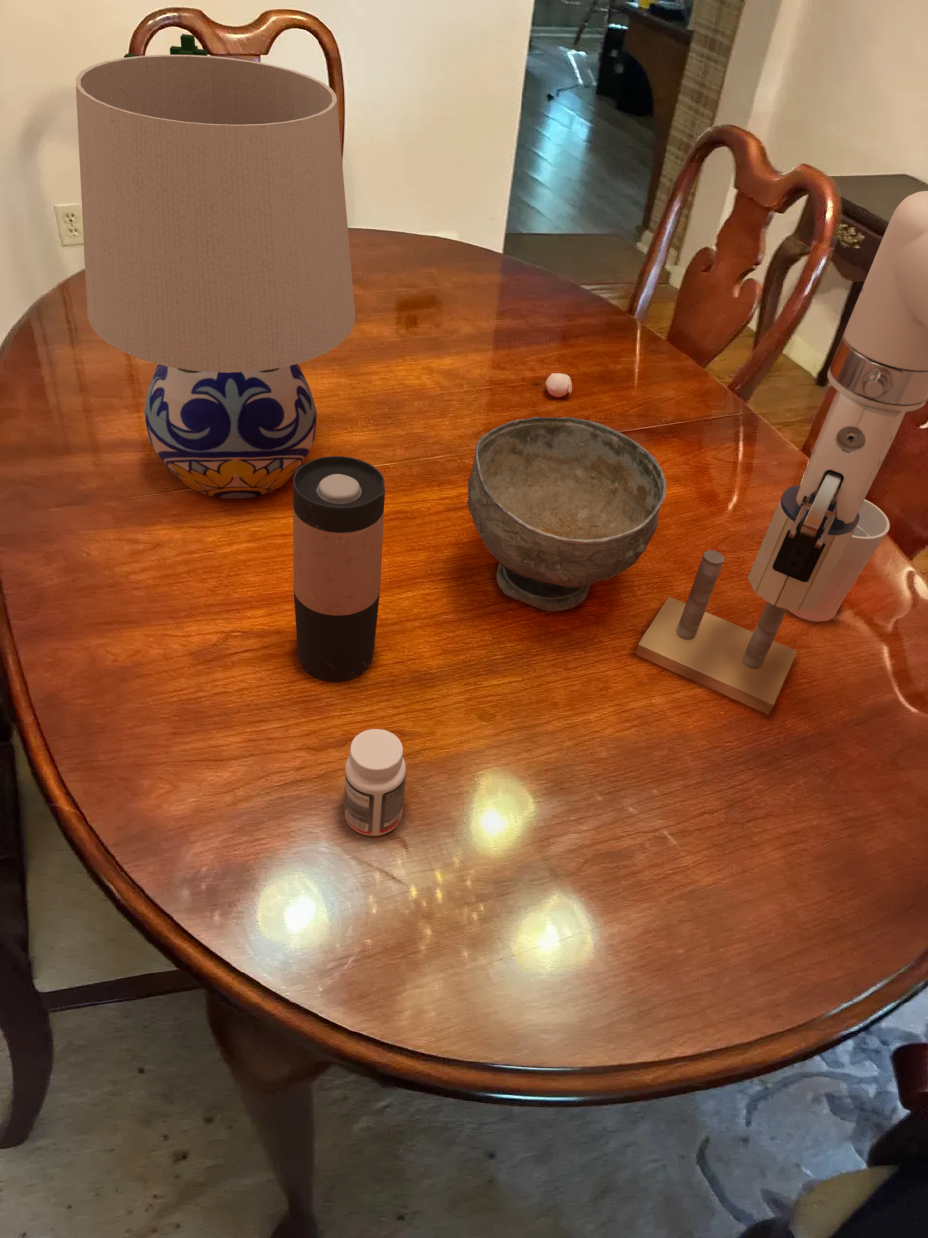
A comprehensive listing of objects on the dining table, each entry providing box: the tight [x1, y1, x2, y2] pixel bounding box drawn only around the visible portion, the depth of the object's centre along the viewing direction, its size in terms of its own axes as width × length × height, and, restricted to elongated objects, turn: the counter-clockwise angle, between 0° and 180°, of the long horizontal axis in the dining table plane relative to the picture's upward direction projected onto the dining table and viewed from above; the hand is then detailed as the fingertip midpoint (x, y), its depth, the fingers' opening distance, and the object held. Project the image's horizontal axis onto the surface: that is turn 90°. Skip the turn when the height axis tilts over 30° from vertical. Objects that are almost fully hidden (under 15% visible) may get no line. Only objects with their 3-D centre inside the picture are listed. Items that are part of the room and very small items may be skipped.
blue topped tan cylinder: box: [747, 484, 859, 611], centre depth 82 cm, size 7×7×9 cm
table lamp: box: [75, 54, 356, 500], centre depth 96 cm, size 27×27×40 cm
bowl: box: [466, 416, 668, 612], centre depth 94 cm, size 20×19×15 cm
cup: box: [787, 498, 891, 623], centre depth 98 cm, size 8×8×12 cm
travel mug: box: [292, 455, 386, 683], centre depth 81 cm, size 8×8×20 cm
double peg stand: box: [634, 549, 798, 716], centre depth 90 cm, size 14×9×12 cm, turn 60°
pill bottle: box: [343, 728, 407, 837], centre depth 73 cm, size 5×5×8 cm
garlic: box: [545, 372, 573, 398], centre depth 129 cm, size 5×3×5 cm
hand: (801, 551), depth 82 cm, fingers closed on blue topped tan cylinder, 7 cm apart
